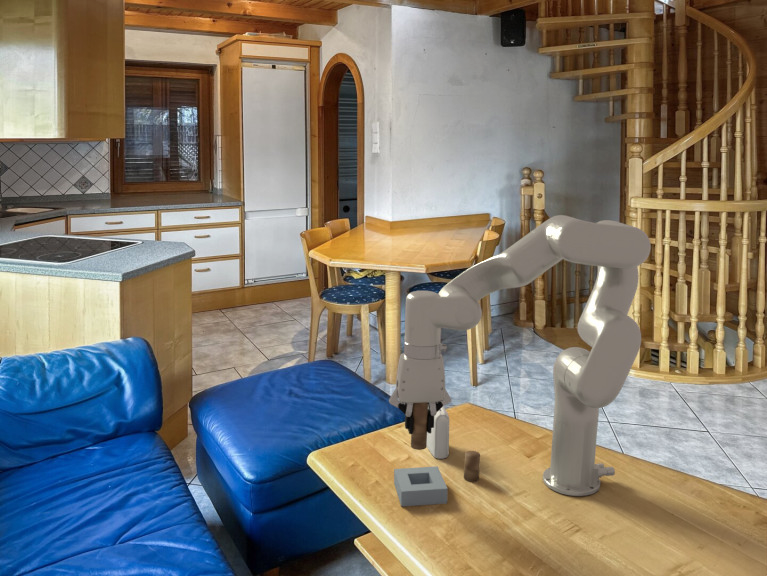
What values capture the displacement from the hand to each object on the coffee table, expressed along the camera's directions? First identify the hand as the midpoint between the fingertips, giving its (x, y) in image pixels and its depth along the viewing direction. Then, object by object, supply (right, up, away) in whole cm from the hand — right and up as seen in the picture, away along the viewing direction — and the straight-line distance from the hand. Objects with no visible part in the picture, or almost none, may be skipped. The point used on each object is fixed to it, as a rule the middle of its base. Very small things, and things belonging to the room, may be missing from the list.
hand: (419, 430), depth 147 cm
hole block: (0, -15, +3) cm, 15 cm away
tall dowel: (0, -4, +1) cm, 4 cm away
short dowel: (+13, -13, +10) cm, 21 cm away
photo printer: (+6, -10, +24) cm, 26 cm away
